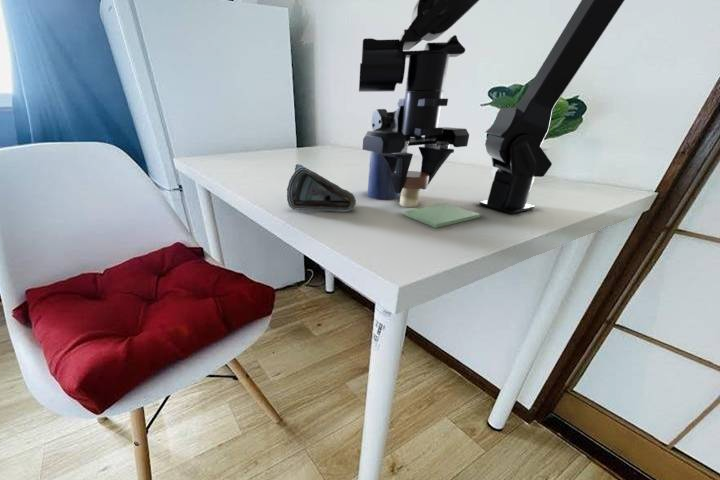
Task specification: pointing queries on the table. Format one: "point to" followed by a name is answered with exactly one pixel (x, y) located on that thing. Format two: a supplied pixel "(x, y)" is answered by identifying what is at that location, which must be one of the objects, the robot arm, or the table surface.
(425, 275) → the table surface
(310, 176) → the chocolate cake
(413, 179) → the mushroom
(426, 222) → the napkin
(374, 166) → the can
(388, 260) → the table surface
